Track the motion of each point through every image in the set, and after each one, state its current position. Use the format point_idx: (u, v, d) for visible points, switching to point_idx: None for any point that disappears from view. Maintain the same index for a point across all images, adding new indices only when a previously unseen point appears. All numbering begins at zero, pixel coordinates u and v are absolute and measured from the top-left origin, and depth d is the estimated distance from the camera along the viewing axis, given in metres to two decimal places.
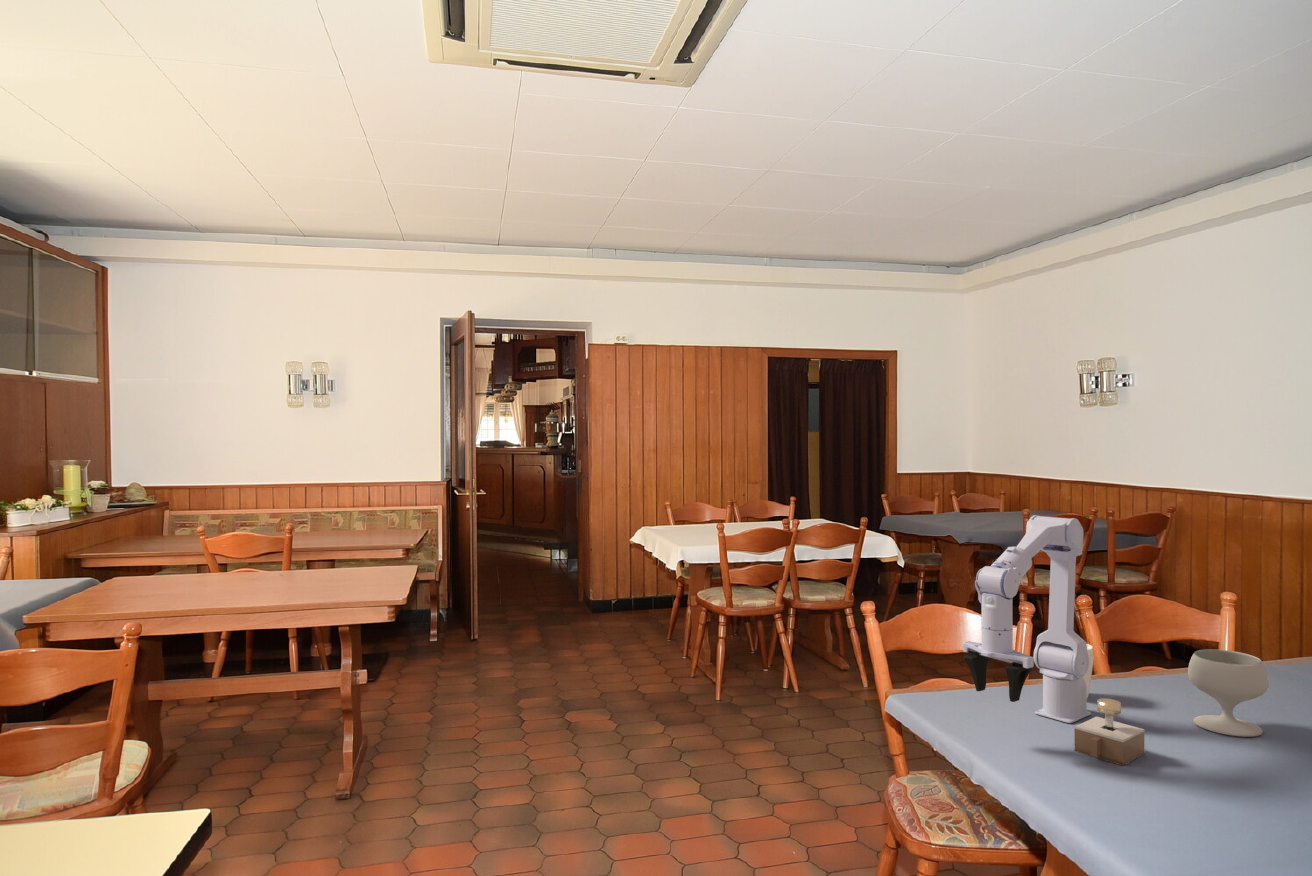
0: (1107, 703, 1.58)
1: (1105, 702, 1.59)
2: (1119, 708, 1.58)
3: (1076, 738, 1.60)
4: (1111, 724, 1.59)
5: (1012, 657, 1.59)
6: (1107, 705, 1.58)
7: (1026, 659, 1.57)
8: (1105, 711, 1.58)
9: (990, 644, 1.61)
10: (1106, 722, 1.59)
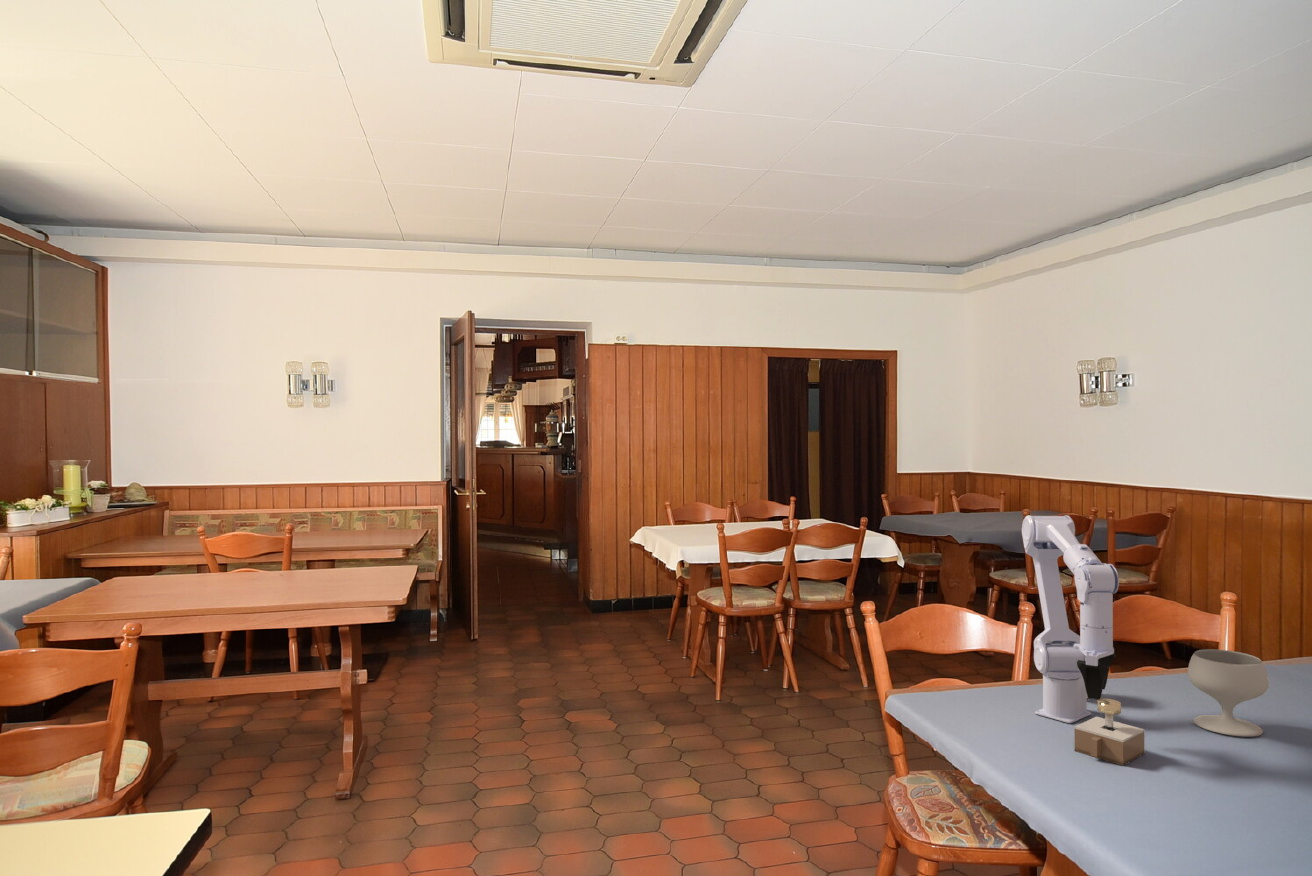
0: (1107, 703, 1.58)
1: (1105, 702, 1.59)
2: (1119, 708, 1.58)
3: (1076, 738, 1.60)
4: (1111, 724, 1.59)
5: (1083, 652, 1.60)
6: (1107, 705, 1.58)
7: (1086, 655, 1.58)
8: (1105, 711, 1.58)
9: (1080, 638, 1.64)
10: (1106, 722, 1.59)
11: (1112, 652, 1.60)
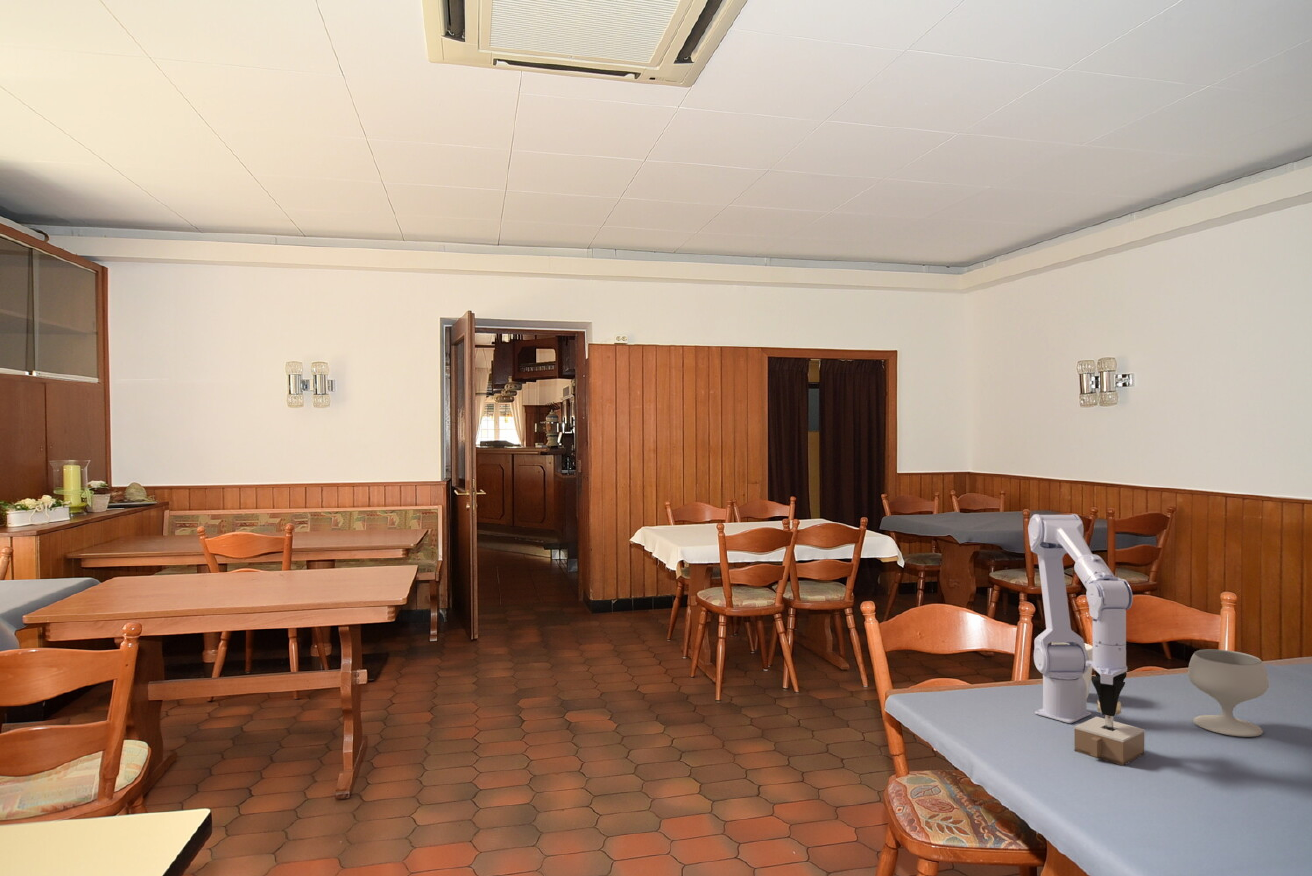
0: None
1: None
2: (1119, 708, 1.58)
3: (1076, 738, 1.60)
4: (1111, 724, 1.59)
5: (1097, 670, 1.56)
6: None
7: (1100, 674, 1.54)
8: None
9: None
10: (1106, 722, 1.59)
11: (1126, 669, 1.57)
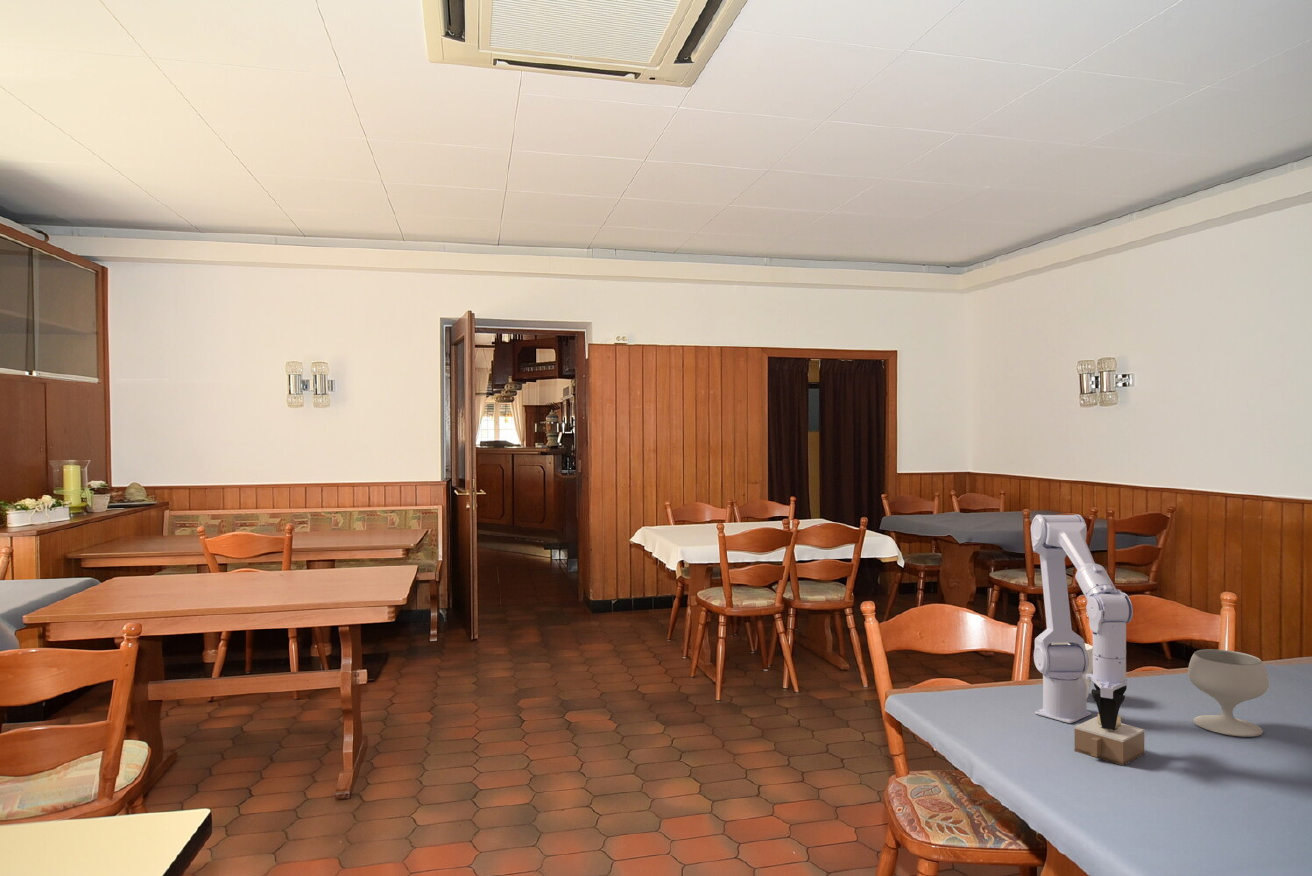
0: None
1: None
2: (1119, 721, 1.58)
3: (1076, 738, 1.60)
4: None
5: (1097, 684, 1.57)
6: None
7: (1100, 687, 1.54)
8: None
9: None
10: None
11: (1126, 683, 1.57)
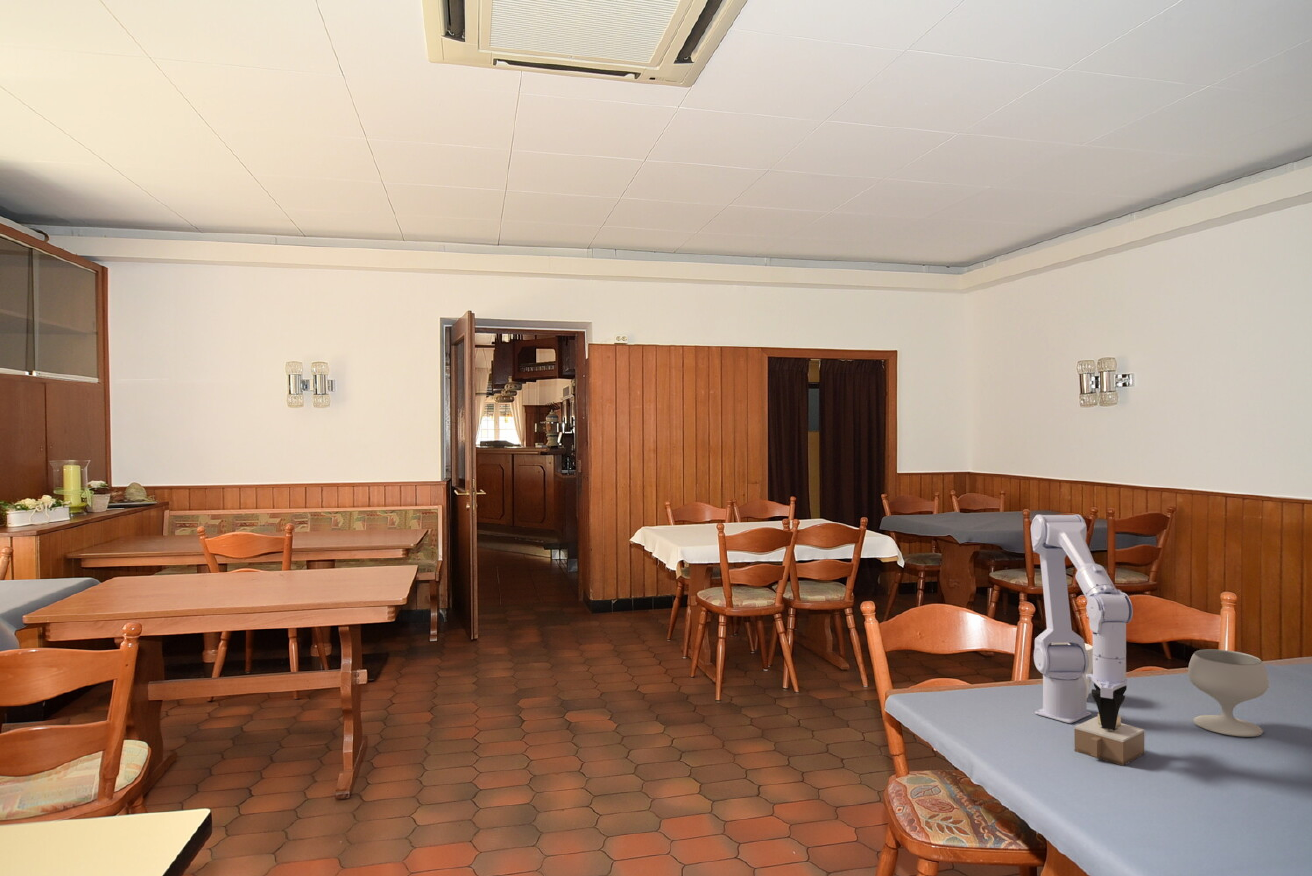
0: None
1: None
2: (1119, 721, 1.58)
3: (1076, 738, 1.60)
4: None
5: (1097, 684, 1.57)
6: None
7: (1100, 687, 1.54)
8: None
9: None
10: None
11: (1126, 683, 1.57)
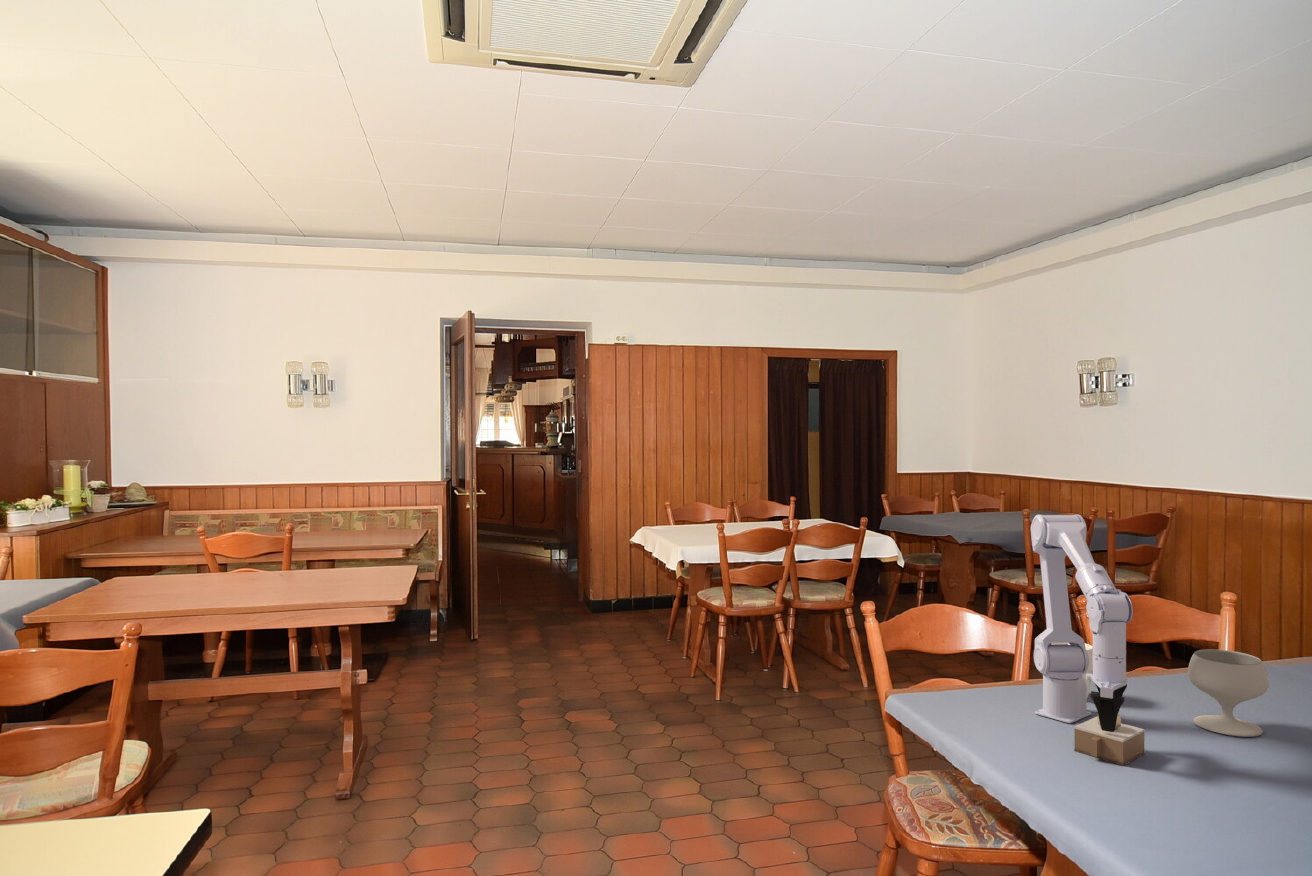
0: None
1: None
2: (1119, 721, 1.58)
3: (1076, 738, 1.60)
4: None
5: (1097, 683, 1.57)
6: None
7: (1100, 687, 1.54)
8: None
9: None
10: None
11: (1126, 683, 1.57)
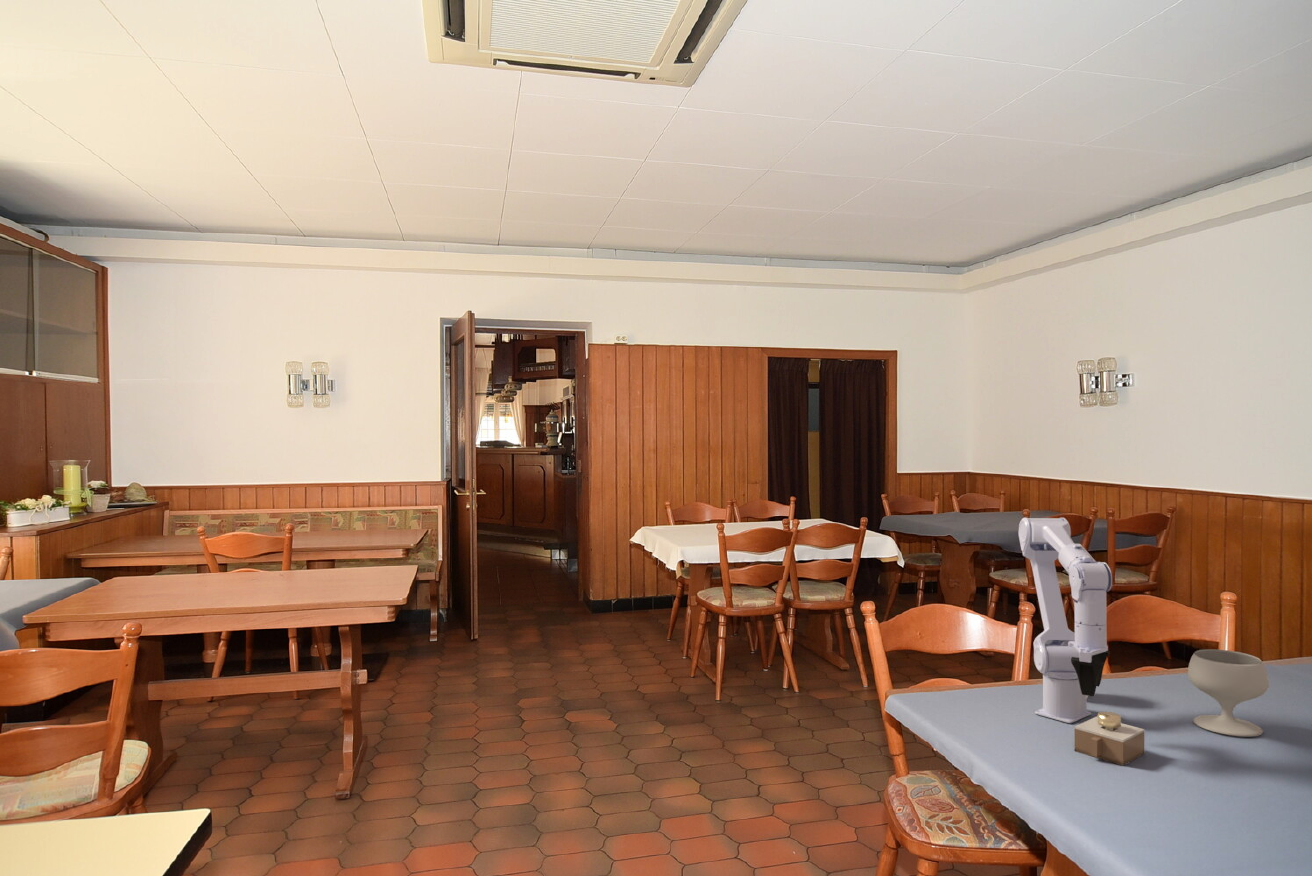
0: (1107, 717, 1.58)
1: (1105, 715, 1.59)
2: (1119, 721, 1.58)
3: (1076, 738, 1.60)
4: None
5: (1077, 649, 1.62)
6: (1107, 718, 1.58)
7: (1079, 652, 1.60)
8: (1105, 724, 1.58)
9: None
10: None
11: (1106, 649, 1.63)
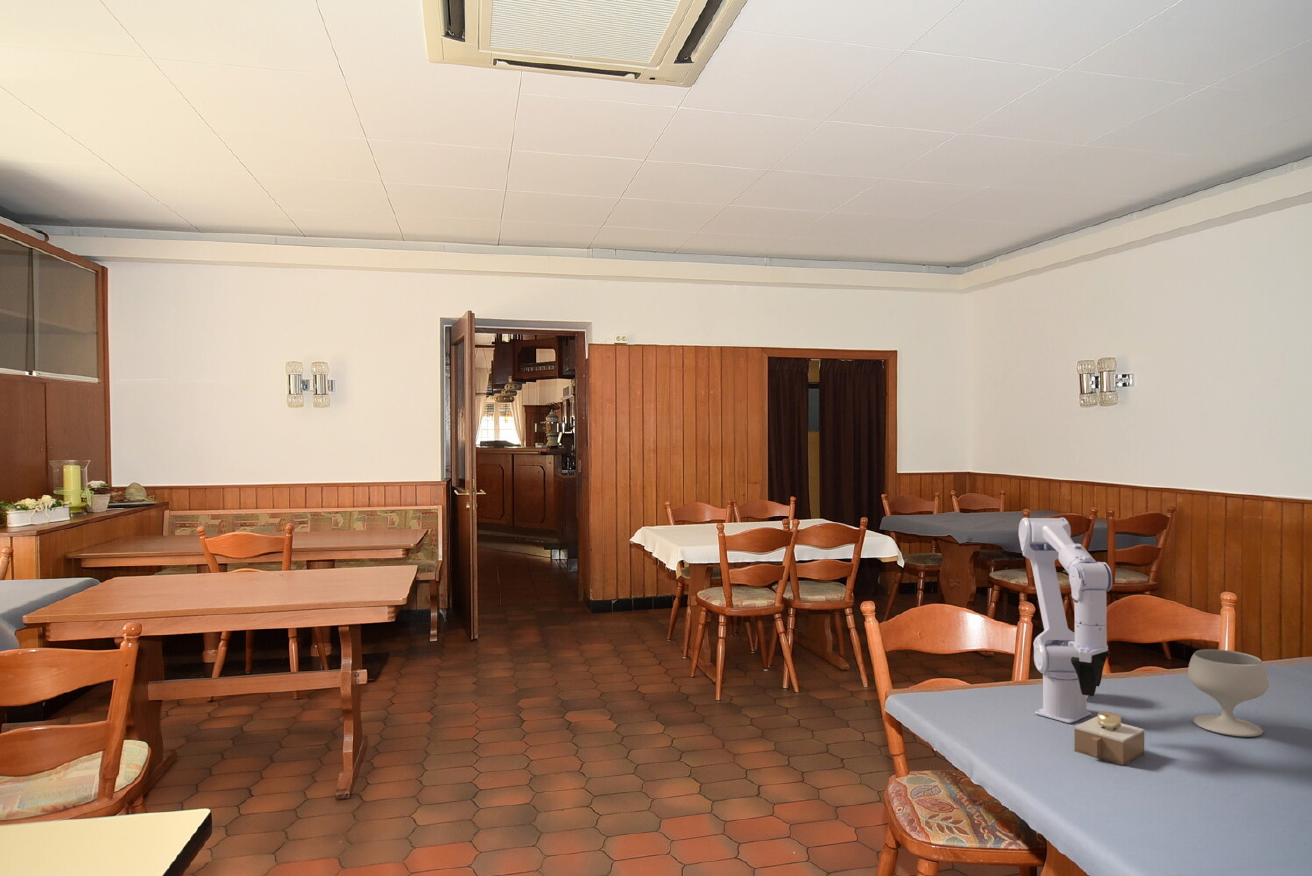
0: (1107, 717, 1.58)
1: (1105, 715, 1.59)
2: (1119, 721, 1.58)
3: (1076, 738, 1.60)
4: None
5: (1077, 649, 1.62)
6: (1107, 718, 1.58)
7: (1079, 652, 1.60)
8: (1105, 724, 1.58)
9: None
10: None
11: (1106, 649, 1.63)
